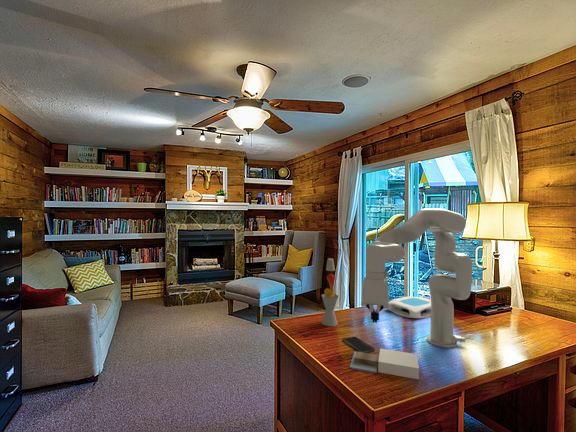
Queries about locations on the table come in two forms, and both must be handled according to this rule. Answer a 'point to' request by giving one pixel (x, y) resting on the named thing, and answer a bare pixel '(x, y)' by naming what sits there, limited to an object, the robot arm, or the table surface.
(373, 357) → the walnut tile
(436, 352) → the table surface
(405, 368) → the riser
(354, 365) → the mat
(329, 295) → the lava lamp
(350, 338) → the phone
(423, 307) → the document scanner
